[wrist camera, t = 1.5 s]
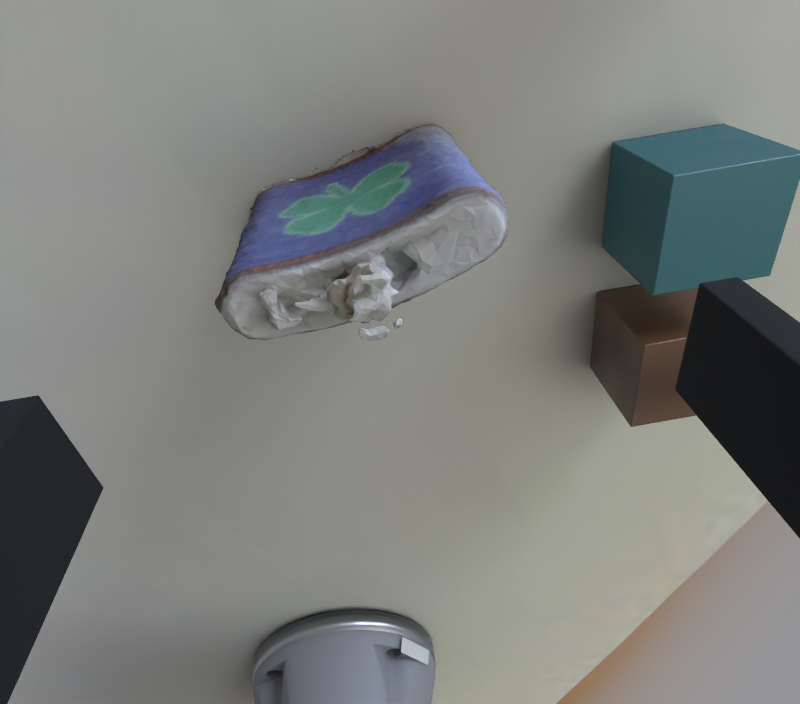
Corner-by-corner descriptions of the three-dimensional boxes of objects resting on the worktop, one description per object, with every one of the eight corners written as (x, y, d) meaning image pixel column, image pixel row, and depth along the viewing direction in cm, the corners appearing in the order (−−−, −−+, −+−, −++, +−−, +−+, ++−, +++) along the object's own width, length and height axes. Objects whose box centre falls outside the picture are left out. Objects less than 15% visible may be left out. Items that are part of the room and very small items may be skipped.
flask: (444, 111, 22) (522, 200, 13) (462, 179, 23) (543, 298, 15) (239, 193, 23) (182, 328, 14) (271, 252, 24) (238, 406, 15)
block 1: (675, 352, 30) (729, 410, 26) (589, 367, 30) (630, 427, 26) (691, 275, 27) (755, 326, 23) (597, 291, 27) (644, 345, 23)
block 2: (701, 230, 26) (770, 275, 22) (601, 247, 26) (652, 296, 22) (724, 123, 23) (808, 152, 19) (612, 141, 23) (673, 175, 19)
